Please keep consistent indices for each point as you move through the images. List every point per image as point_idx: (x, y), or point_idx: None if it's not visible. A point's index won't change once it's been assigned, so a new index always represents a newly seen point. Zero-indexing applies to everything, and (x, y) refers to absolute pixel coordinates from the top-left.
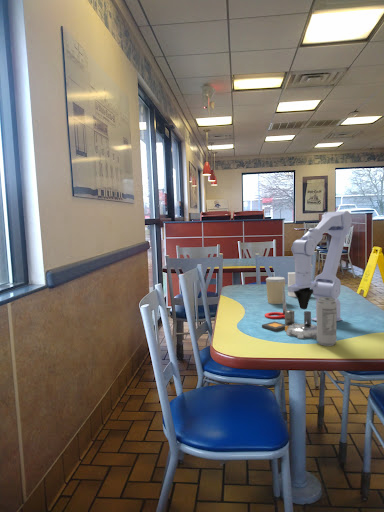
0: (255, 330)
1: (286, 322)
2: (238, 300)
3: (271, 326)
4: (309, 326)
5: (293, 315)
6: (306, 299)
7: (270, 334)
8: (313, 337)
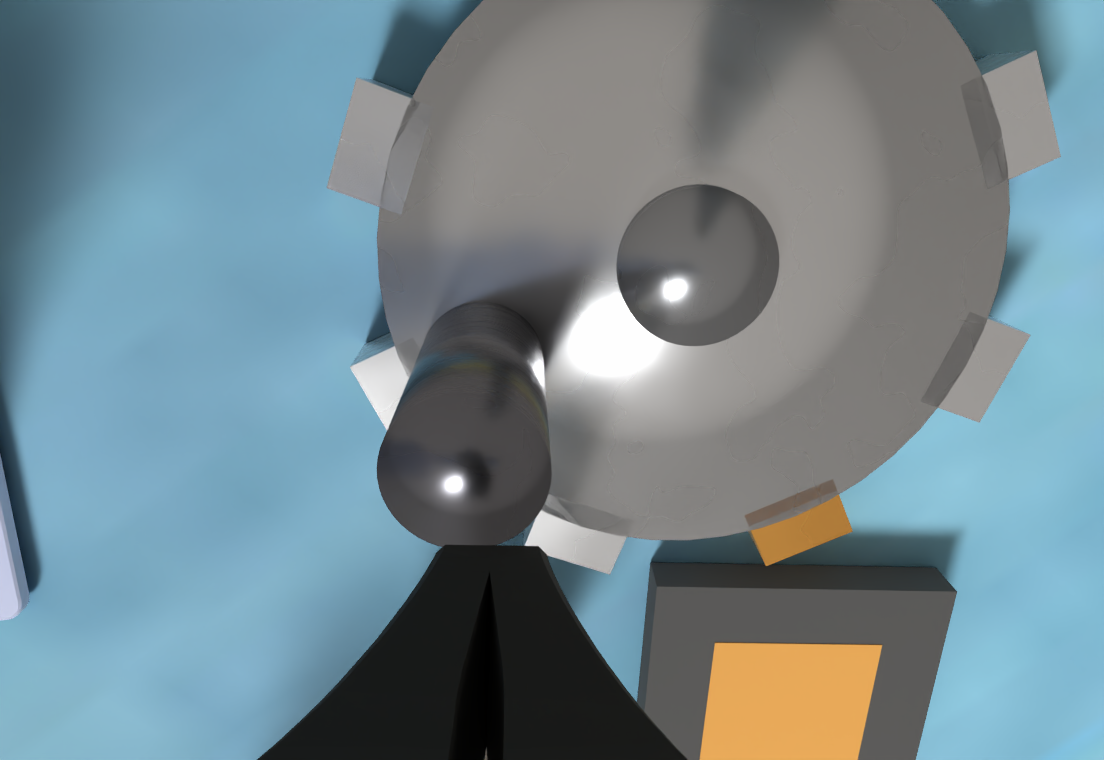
0: (1052, 755)
1: None
2: None
3: (885, 699)
4: (522, 289)
5: None
6: (526, 719)
7: (1092, 532)
8: None
